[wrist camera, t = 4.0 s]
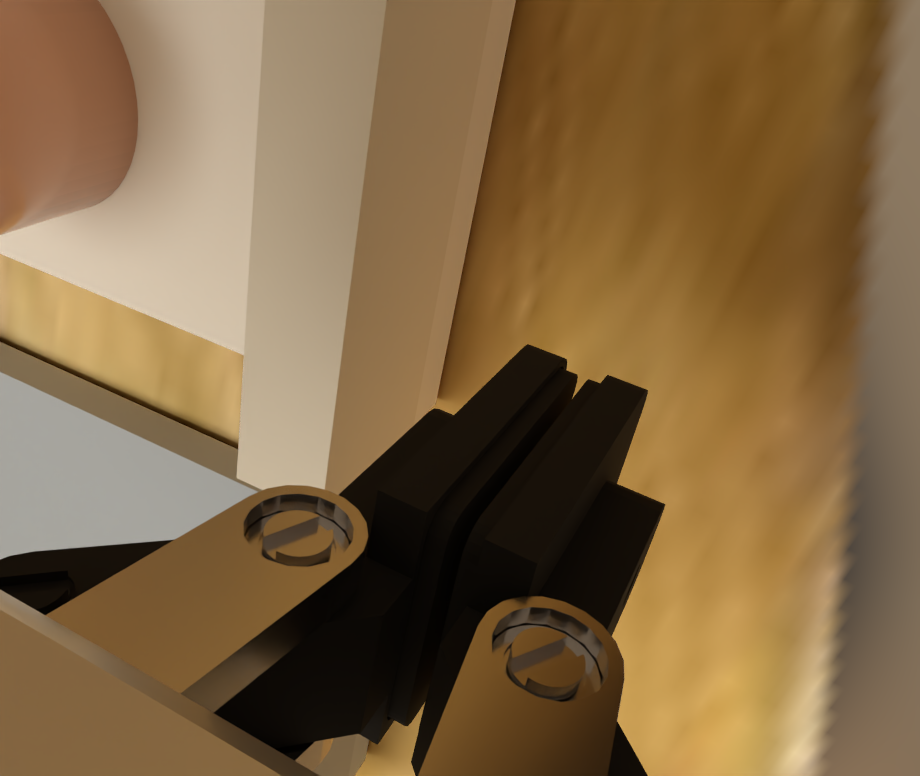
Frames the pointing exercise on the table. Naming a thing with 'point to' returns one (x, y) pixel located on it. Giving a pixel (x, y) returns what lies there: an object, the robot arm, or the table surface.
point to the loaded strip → (210, 177)
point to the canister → (61, 109)
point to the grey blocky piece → (110, 477)
